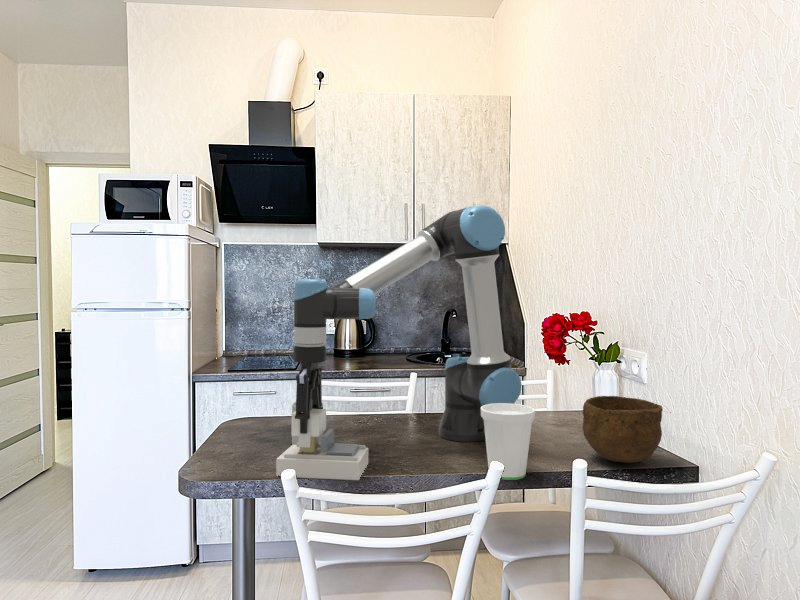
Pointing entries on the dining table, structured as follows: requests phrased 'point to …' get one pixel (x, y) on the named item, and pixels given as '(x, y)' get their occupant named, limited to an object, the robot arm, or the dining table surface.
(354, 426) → the dining table surface
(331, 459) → the cream railed base block
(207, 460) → the dining table surface
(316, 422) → the plug
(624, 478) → the dining table surface
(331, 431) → the grey l-shaped bracket
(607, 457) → the bowl
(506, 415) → the cup
